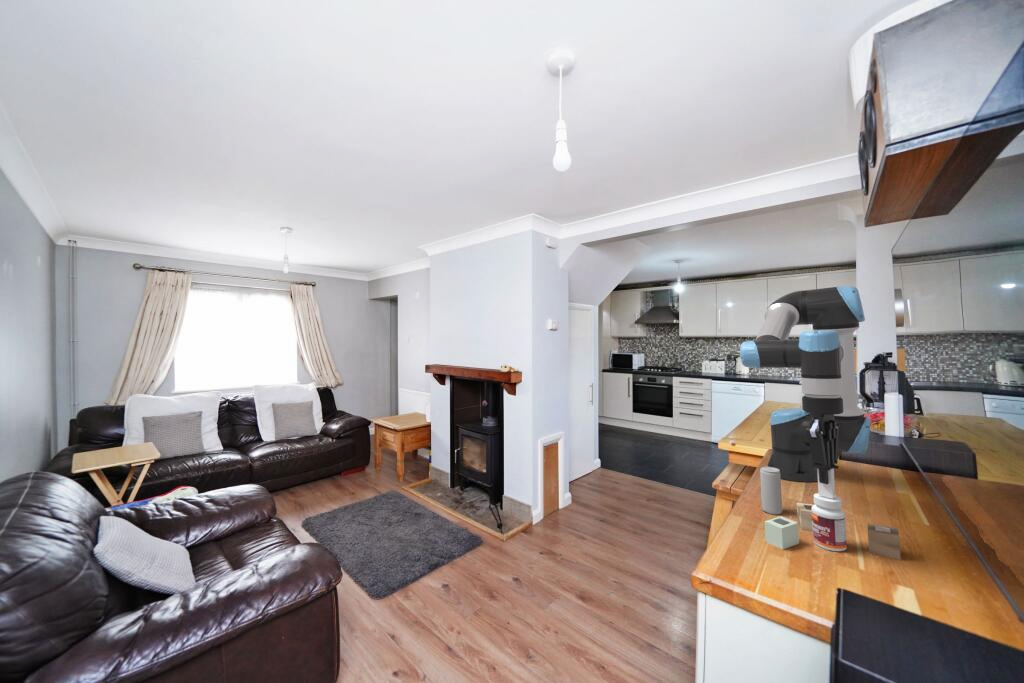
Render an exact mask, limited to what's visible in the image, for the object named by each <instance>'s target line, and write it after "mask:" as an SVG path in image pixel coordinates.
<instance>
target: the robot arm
mask: <svg viewBox="0 0 1024 683" xmlns="http://www.w3.org/2000/svg"><path fill="white" fill-rule="evenodd" d="M865 320H866V316H865V313H864V309H863V304H862V299H861V296H860V293H859V289H858V288H857V287H856V286H852V285H842V286H838V285H837V286H832V287H825V288H824V287H823V288H816V289H807V290H797V291H793V292H790V293H787V294H785V295H783V296H781V297H779V298H778V299H775V300H774V301H773V302H772V303H771V304H770V305H768V307H767V308H766V309H765V312H764V322H763V323H762V326H761V327H760V330H759V331H758V334H757V336H756V337H755V340H749V341H743V342H741V345H740V348H739V357H740V362H741V364H742V365H743V367H745V368H754V369H755V368H756V369H766V368H767V369H769V368H770V369H772V368H773V369H776V368H778V369H779V368H780V369H781V368H782V369H784V368H785V369H786V368H789V369H790V368H791V369H800V381H799V385H801V393H802V394H803V396H802V397H801V406H802V407H794V408H793V407H792V408H789V407H788V408H783V409H782V408H781V409H776V410H773V411H772V412H771V413H770V423H769V425H770V432H771V433H770V434H771V435H770V436H771V454H770V456H769V459H768V462H767V465H766V467H773V468H777V469H779V470H780V476H781V479H782V480H787V481H792V482H798V483H800V482H801V483H803V482H804V483H813V482H817V490H818V492H817V493H819V496H823V497H827V498H831V499H833V498H835V496H836V489H835V488H836V486H835V485H836V484H835V470H839V468H840V466H839V465H837V464H838V462H839V461H838V459H839V458H838V453H839V452H845V453H846V454H847V453H856V454H863V453H866V452H867V450H868V447H869V438H870V431H871V422H872V421H871V418H870V417H868V416H865V410H863V409H861V408H860V407H859V406H858V393H857V391H858V390H857V376H856V373H857V372H856V360H855V358H856V356H855V342H854V333H855V332H856V331H857V330H858V329H859V328H860V323H862V322H864V321H865ZM800 325H801V326H802V325H803V326H804V325H806V326H807V325H812V330H809V331H808V330H807V331H805V330H804V331H801V332H800V334H799V337H798V338H799V339H789V336H790V334H791V331H792V328H793V327H795V326H800Z"/></svg>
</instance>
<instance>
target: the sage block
mask: <svg viewBox="0 0 1024 683" xmlns="http://www.w3.org/2000/svg"><path fill="white" fill-rule="evenodd" d="M764 533H765V534H764V536H765V543H768V544H770V545H772V546H774V547H777V548H778V549H780V550H786V549H788V548H790V547H793V546H796V545H799V544H800V533H799V523H798V521H794V520H792V519H789V518H787V517H784V516H782V515H779V516H777V517H774V518H771V519H768V520H764Z"/></svg>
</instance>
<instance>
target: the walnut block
mask: <svg viewBox="0 0 1024 683" xmlns="http://www.w3.org/2000/svg"><path fill="white" fill-rule="evenodd" d="M867 540H868V541H867V542H868V553H869V554H872V555H878V556H880V557H881V556H882V557H884V558H885V557H886V558H890V559H894V560H897V561H901V559H902V558H901V543H900V542H901V539H900V534H899V530H898V528H897V527H896V528H895V527H892V526H887V525H882V524H881V525H880V524H876V523H872V522H867Z"/></svg>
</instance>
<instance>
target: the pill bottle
mask: <svg viewBox="0 0 1024 683" xmlns="http://www.w3.org/2000/svg"><path fill="white" fill-rule="evenodd" d="M813 503H814V504H812V505H813V506H812V508H811V511H812V531H811V532H812V541H813V543H814V544H815V545H816V546H818V547H819V548H821V549H824V550H828V551H831V552H832V551H833V552H844V551H845V550H847V546H848V545H847V543H848V542H847V531H846V530H847V526H846V514H845V511H844V509H842V508H843V501H842V498H841V497H839V496H838V495H835V498H833V499H831V498H827V497H823V496H819V493H818V492H817V493H816V492H815V493H814V494H813Z"/></svg>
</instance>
